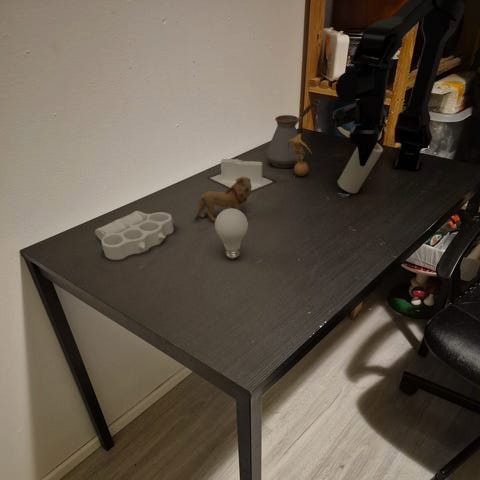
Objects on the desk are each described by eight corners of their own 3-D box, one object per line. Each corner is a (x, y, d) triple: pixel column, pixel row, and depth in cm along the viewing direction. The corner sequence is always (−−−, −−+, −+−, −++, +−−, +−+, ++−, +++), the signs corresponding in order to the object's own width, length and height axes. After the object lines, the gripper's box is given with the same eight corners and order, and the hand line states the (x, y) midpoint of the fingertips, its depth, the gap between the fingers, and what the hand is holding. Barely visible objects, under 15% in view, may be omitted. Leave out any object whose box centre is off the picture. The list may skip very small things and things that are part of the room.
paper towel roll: (359, 187, 114) (340, 176, 114) (384, 146, 105) (363, 135, 105) (355, 196, 109) (335, 185, 110) (381, 154, 101) (359, 143, 101)
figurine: (316, 177, 119) (320, 133, 112) (304, 184, 116) (307, 139, 108) (293, 169, 124) (295, 127, 116) (280, 176, 121) (282, 132, 113)
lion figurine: (247, 206, 107) (247, 171, 101) (255, 215, 103) (255, 180, 97) (192, 217, 104) (188, 182, 98) (197, 227, 100) (194, 191, 94)
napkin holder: (273, 181, 118) (274, 161, 114) (243, 194, 113) (243, 173, 109) (238, 167, 127) (237, 147, 123) (209, 178, 121) (207, 158, 117)
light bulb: (252, 252, 91) (252, 204, 84) (242, 268, 86) (241, 220, 79) (223, 247, 93) (220, 200, 86) (212, 263, 88) (208, 215, 81)
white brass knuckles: (147, 215, 105) (186, 233, 98) (84, 244, 95) (123, 267, 88) (144, 202, 103) (185, 220, 96) (80, 231, 93) (120, 254, 86)
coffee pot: (288, 174, 122) (291, 118, 112) (258, 164, 128) (258, 111, 118) (328, 152, 133) (334, 100, 124) (299, 144, 139) (302, 95, 129)
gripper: (344, 82, 105) (339, 146, 115) (329, 102, 92) (324, 173, 102) (391, 83, 101) (381, 149, 111) (381, 103, 88) (371, 176, 99)
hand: (364, 161), depth 106 cm, fingers closed on paper towel roll, 6 cm apart
